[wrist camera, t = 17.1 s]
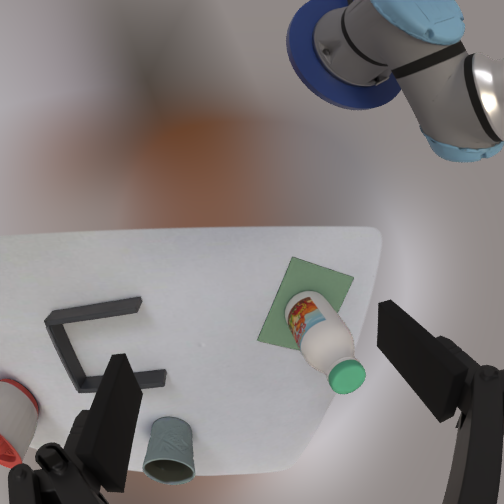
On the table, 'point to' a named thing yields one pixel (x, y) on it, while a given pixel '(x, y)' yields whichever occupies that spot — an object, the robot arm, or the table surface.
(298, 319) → the milk bottle
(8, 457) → the citrus juicer
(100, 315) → the dark grey u-shaped frame
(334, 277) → the mat
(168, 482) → the grey-green cup
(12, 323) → the table surface
